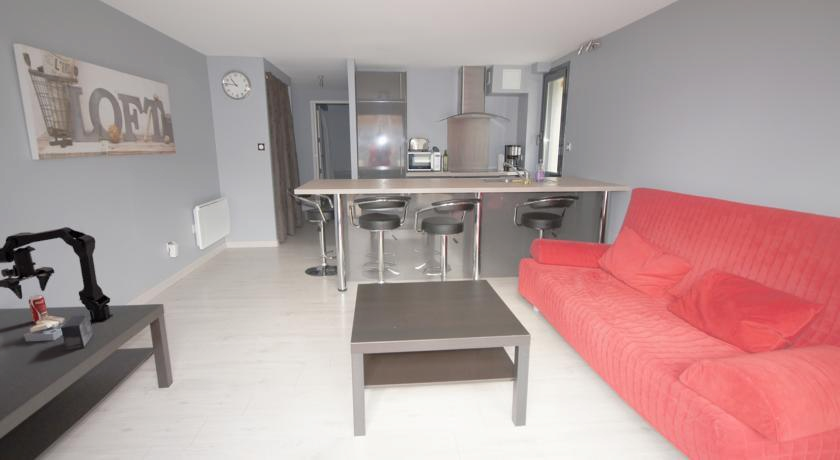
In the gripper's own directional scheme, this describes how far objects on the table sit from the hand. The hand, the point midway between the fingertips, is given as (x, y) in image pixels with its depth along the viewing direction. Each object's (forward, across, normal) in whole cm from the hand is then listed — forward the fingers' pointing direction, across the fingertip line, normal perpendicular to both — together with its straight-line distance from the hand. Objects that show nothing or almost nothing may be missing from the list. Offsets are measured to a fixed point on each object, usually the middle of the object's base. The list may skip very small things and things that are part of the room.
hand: (32, 294), depth 183 cm
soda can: (+14, -2, -1) cm, 14 cm away
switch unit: (+14, +8, +16) cm, 23 cm away
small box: (+14, +12, +36) cm, 41 cm away
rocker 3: (+9, +5, +15) cm, 18 cm away
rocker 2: (+9, +8, +16) cm, 20 cm away
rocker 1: (+9, +12, +17) cm, 23 cm away
